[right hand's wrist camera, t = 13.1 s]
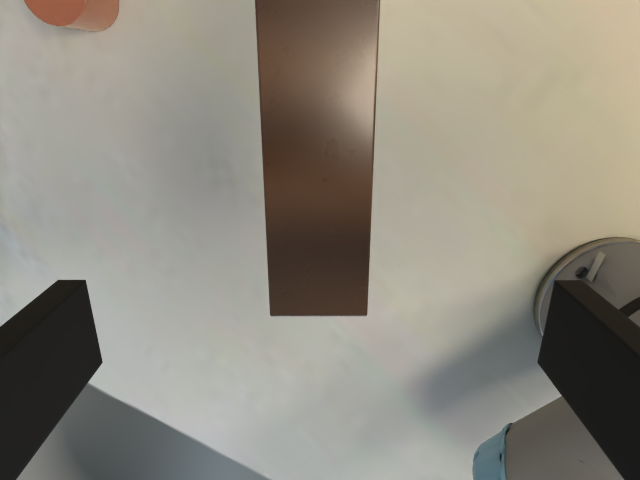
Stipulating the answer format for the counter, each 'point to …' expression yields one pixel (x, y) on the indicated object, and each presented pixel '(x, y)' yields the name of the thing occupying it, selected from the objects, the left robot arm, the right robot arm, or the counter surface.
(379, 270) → the counter surface
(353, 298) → the bar
